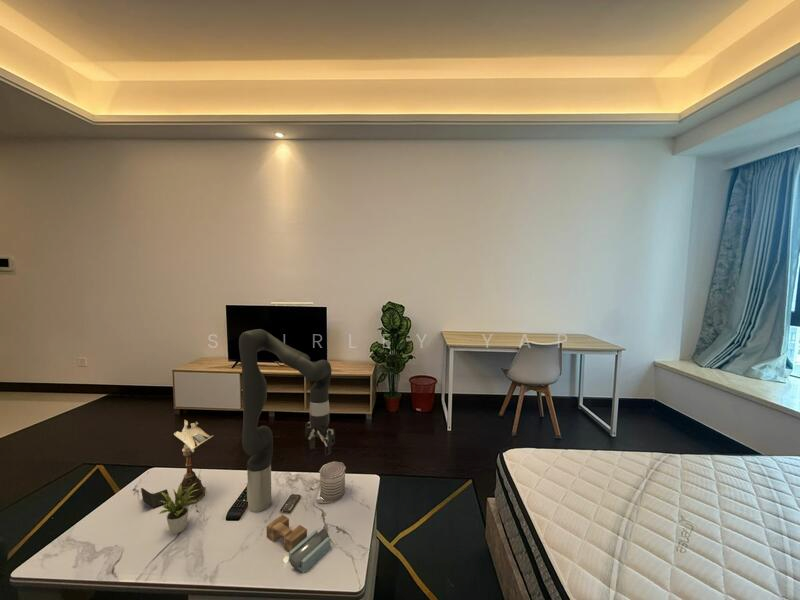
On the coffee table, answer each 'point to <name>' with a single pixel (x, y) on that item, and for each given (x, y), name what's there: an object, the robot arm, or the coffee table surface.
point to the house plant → (177, 510)
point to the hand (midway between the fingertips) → (319, 451)
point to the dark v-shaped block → (154, 498)
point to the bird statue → (189, 449)
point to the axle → (307, 548)
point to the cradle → (314, 554)
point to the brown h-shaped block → (286, 532)
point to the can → (332, 481)
